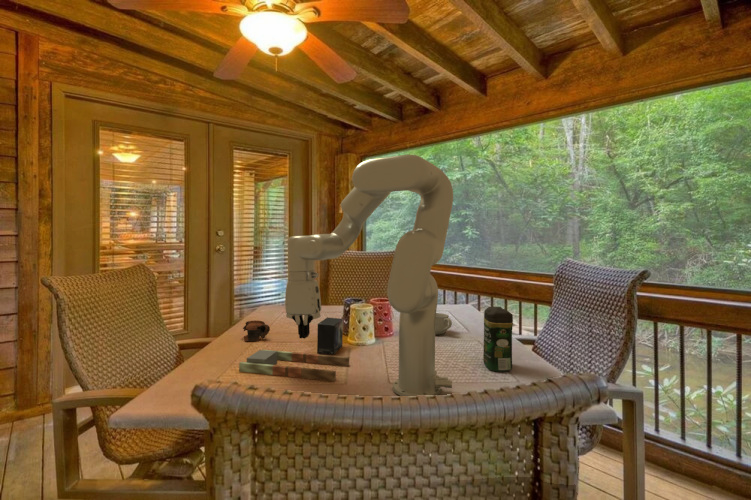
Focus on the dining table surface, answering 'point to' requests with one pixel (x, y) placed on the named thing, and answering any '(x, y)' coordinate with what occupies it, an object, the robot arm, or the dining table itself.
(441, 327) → the teacup
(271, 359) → the grey block
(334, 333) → the small box
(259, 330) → the pottery mug
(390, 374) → the dining table surface
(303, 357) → the channel
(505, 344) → the coffee jar
